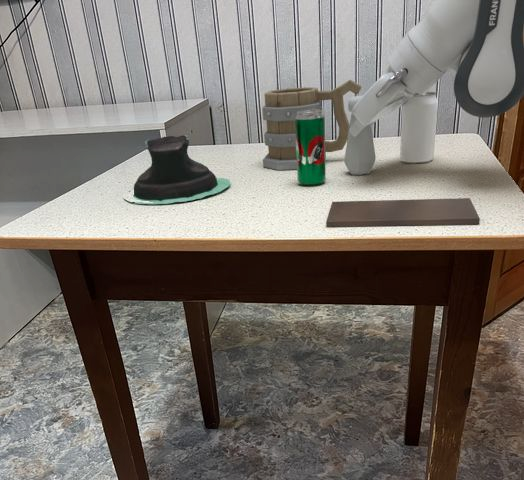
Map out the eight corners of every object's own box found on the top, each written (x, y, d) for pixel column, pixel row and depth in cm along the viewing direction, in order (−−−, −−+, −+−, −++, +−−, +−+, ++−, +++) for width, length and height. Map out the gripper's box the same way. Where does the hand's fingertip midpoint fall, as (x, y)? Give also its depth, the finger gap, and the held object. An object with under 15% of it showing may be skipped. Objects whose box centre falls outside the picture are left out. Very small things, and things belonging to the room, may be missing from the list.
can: (404, 156, 110) (407, 92, 104) (436, 157, 107) (441, 91, 101) (396, 163, 105) (399, 96, 99) (430, 164, 102) (435, 95, 96)
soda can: (329, 180, 98) (328, 108, 92) (320, 187, 94) (318, 112, 88) (303, 179, 100) (300, 109, 94) (293, 186, 96) (289, 113, 90)
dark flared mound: (113, 183, 106) (209, 170, 112) (137, 250, 97) (240, 232, 103) (105, 113, 93) (214, 103, 100) (132, 183, 85) (249, 167, 91)
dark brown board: (469, 203, 79) (469, 197, 78) (479, 224, 70) (480, 218, 70) (332, 206, 83) (332, 201, 82) (326, 227, 74) (326, 221, 74)
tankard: (260, 171, 109) (253, 89, 101) (270, 158, 120) (265, 84, 112) (359, 166, 105) (360, 81, 97) (361, 154, 116) (362, 76, 108)
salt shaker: (337, 173, 101) (336, 98, 95) (358, 167, 104) (358, 94, 98) (361, 177, 97) (361, 98, 91) (382, 170, 100) (383, 94, 94)
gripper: (410, 88, 81) (349, 156, 90) (439, 75, 96) (384, 134, 105) (382, 57, 80) (323, 128, 90) (415, 49, 96) (362, 110, 105)
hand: (356, 131), depth 98 cm, fingers closed on salt shaker, 3 cm apart
